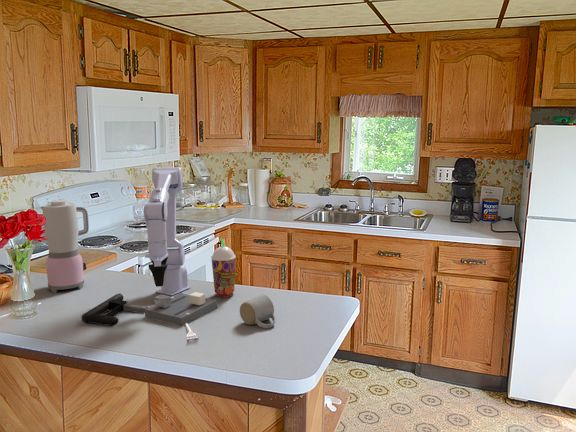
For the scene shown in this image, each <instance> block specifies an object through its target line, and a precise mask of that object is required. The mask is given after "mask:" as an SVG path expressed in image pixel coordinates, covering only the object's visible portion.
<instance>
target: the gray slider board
mask: <svg viewBox="0 0 576 432" xmlns="http://www.w3.org/2000/svg"><path fill="white" fill-rule="evenodd" d="M189 295H190V294H187V293H182V292H180V293H177V294H175V295H173V296H172V297H171V305H170V306H168V307H166V308H162V307H158V306H155V304H154V305H151V306H148V308H147V309H145V313H144V318H147V319H151V320H154V321H155V320H156V321H161V322H165V323H166V324H167V323H168V324H171V325H177V326H180V327H183V325H184V326H185V323H187V324H189V323H191V322H193V321H195V320H197V319H199V318H200V316H201V317H203V316H204V314H205V315H207V314H208V313H210V312H212V311H214V310H216V309H218V300H216V299H211V298H206V297H205V303H203V304H201V305H195V304H191V303H190V302H189ZM202 315H203V316H202ZM198 317H199V318H198Z"/></svg>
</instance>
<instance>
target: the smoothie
mask: <svg viewBox="0 0 576 432" xmlns="http://www.w3.org/2000/svg"><path fill="white" fill-rule="evenodd" d="M210 257H211V258H210V259H211V267H212V275H213V276H212V277H213V278H212V279H213V287H214V293H215V294H216V296H217V297H220V298H228V297H231V296H233V295H234V292H235V286H236V285H235V282H236V280H235V279H236V278H235V277H236V257H237V255H236V254H235V252H234V251H233V250H232V249H231V248H230V247H228V246H226V245H225V239H224V238H221V246H219V247H217V248H216V249H215V250H214V251H213V253H212V255H211V256H210Z"/></svg>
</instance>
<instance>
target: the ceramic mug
mask: <svg viewBox="0 0 576 432" xmlns="http://www.w3.org/2000/svg"><path fill="white" fill-rule="evenodd" d="M273 303H274V302H273V301H272V300H271V298H270V297H269V296H268V295H267V294H263V293H262V294H259V295H256V296H254V297H253V298H250V299H248V300H246V301H243V302H242V303H241V305H240V307H239V315H240V318H241V319H242V321H243V322H244V323H245V324H247V325H250V326H253V325H257V326H259V327H260V328H263V329H270V328H272V327H274V325H275V323H276V318H275V315H274V314H275V307H274V304H273ZM270 319H271V321H272V323H264V321H268V320H270Z"/></svg>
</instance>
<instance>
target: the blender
mask: <svg viewBox="0 0 576 432" xmlns="http://www.w3.org/2000/svg"><path fill="white" fill-rule="evenodd" d="M39 208H40V209H41V210H42V217H43V216H45V218H46V224H45V225H43V231H44V230H45V233H44V232H43V234H44V239H45V242H46V246H47V250H48V255H47V259H46V262H45V266H46V275H47V276H46V278H47V288H48V289H50V290H51V293H58V290H69V289H74V288H77V289H78V290H81V289H83V287H84V284H85V278H84V277H85V276H84V271H86V270H87V263H86V262H83V257H82V255H81V254H80V252H79V250H78V242H79V236H83V235H86V234H88V233H89V214H88V213H89V212H88V211H87V209H86V208H84V207H83V206H82V207H81V206H76V203H74V202H67V199H58V200H57V199H56V200H51V201H50V203H47V204H43V206H39ZM78 212H80V213H82V221H83V229H81V230H79V220H78ZM46 238H47V240H46Z"/></svg>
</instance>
